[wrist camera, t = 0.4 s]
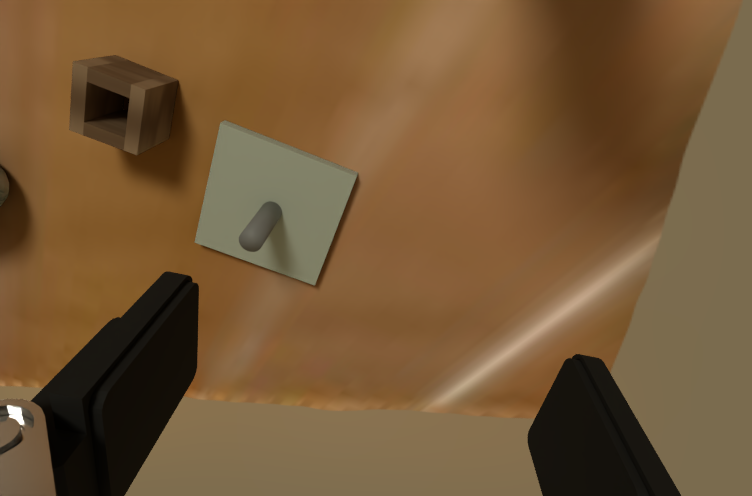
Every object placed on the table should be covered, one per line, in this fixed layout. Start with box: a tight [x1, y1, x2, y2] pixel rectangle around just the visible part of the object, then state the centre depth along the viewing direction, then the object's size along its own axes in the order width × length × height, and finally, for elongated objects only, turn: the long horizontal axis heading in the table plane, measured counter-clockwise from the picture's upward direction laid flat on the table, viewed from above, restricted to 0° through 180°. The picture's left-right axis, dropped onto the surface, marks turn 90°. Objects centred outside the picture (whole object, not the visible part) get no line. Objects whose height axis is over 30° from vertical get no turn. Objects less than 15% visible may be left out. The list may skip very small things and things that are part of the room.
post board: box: [195, 120, 358, 285], centre depth 44 cm, size 14×14×8 cm
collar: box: [69, 55, 178, 155], centre depth 41 cm, size 6×6×6 cm
